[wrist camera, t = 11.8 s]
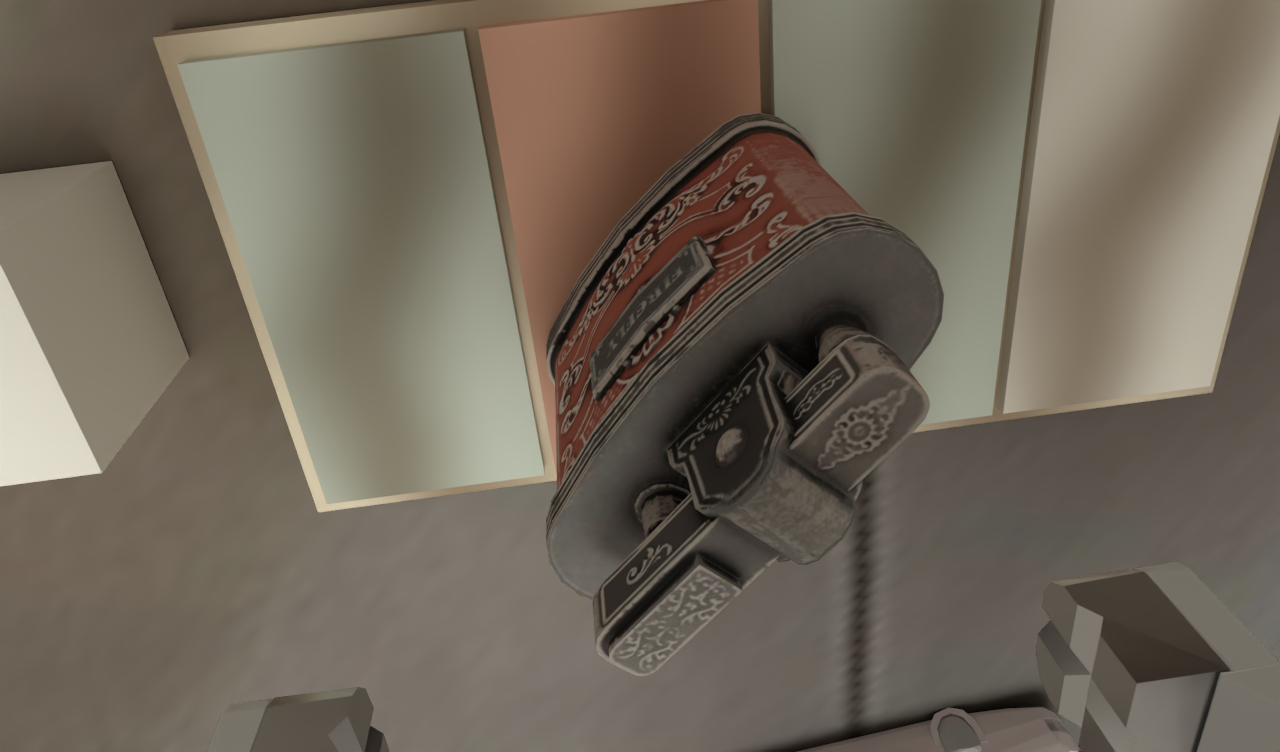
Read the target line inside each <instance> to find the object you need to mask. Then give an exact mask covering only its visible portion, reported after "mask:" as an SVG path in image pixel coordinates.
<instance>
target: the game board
mask: <svg viewBox="0 0 1280 752" xmlns="http://www.w3.org/2000/svg"><path fill="white" fill-rule="evenodd" d="M153 39H154V42H155V45H156V48H157V51H158V54H159V57H160V60H161V62H162V65H163V68H164V71H165V74H166V77H167V80H168V83H169V85H170V88H171V91H172V94H173V97H174V100H175V103H176V106H177V108H178V111H179V114H180V117H181V120H182V123H183V126H184V128H185V131H186V134H187V137H188V140H189V143H190V146H191V149H192V151H193V154H194V157H195V160H196V163H197V166H198V169H199V172H200V174H201V177H202V180H203V183H204V186H205V189H206V192H207V195H208V197H209V200H210V203H211V206H212V209H213V212H214V215H215V217H216V220H217V223H218V226H219V229H220V232H221V235H222V238H223V240H224V243H225V246H226V249H227V252H228V255H229V258H230V261H231V263H232V266H233V269H234V272H235V275H236V278H237V281H238V284H239V286H240V289H241V292H242V295H243V298H244V301H245V304H246V307H247V309H248V312H249V315H250V318H251V321H252V324H253V327H254V329H255V332H256V335H257V338H258V341H259V344H260V347H261V350H262V352H263V355H264V358H265V361H266V364H267V367H268V370H269V373H270V375H271V378H272V381H273V384H274V387H275V390H276V393H277V396H278V398H279V401H280V404H281V407H282V410H283V413H284V416H285V418H286V421H287V424H288V427H289V430H290V433H291V436H292V439H293V441H294V444H295V447H296V450H297V453H298V456H299V459H300V462H301V464H302V467H303V470H304V473H305V476H306V479H307V482H308V485H309V487H310V490H311V493H312V496H313V499H314V502H315V505H316V507H317V510H318V512H325V511H332V510H339V509H347V508H354V507H362V506H369V505H377V504H384V503H392V502H399V501H407V500H414V499H421V498H429V497H436V496H444V495H451V494H459V493H466V492H474V491H481V490H489V489H496V488H504V487H511V486H518V485H526V484H533V483H541V482H548V481H556V480H557V464H556V408H555V386H554V384H553V383H552V381H551V379H550V378H549V375H548V368H547V361H546V343H547V340H548V336H549V333H550V329H551V328H552V326H553V324H554V322H555V320H556V318H557V317H558V315H559V313H560V311H561V309H562V307H563V305H564V304H565V302H566V300H567V298H568V296H569V294H570V293H571V291H572V289H573V287H574V285H575V283H576V282H577V280H578V278H579V276H580V275H581V273H582V272H583V271H584V269H585V268H586V266H587V265H588V264H589V262H590V261H591V259H592V258H593V257H594V255H595V254H596V252H597V251H598V250H599V248H600V247H601V245H602V244H603V243H604V241H605V240H606V238H607V237H608V236H609V234H610V233H611V231H612V230H613V229H614V227H615V226H616V224H617V223H618V222H619V221H620V219H621V218H622V217H623V216H624V215H625V214H626V213H627V212H628V211H629V210H630V209H631V208H632V207H633V206H634V205H635V204H636V203H637V202H638V201H639V200H640V198H641V197H642V196H643V195H644V194H645V193H646V192H647V191H648V190H649V189H650V188H651V187H652V186H653V185H654V184H655V183H656V182H657V181H658V180H659V178H660V177H661V176H662V175H663V174H664V173H665V172H666V171H667V170H668V169H669V168H670V167H672V166H673V165H674V164H675V163H676V162H678V161H679V160H680V159H681V158H682V157H684V156H685V155H686V154H687V153H688V152H690V151H691V150H692V149H693V148H694V147H696V146H697V145H698V144H699V143H700V142H702V141H703V140H704V139H705V138H706V137H708V136H709V135H710V134H711V133H712V132H714V131H715V130H716V129H717V128H718V127H720V126H721V125H722V124H723V123H725V122H727V121H729V120H731V119H732V118H734V117H736V116H738V115H742V114H750V113H757V112H759V113H763V114H768V115H772V116H777V117H779V118H780V119H782V120H784V121H785V122H787V123H788V124H790V125H792V126H793V127H795V128H796V129H797V130H798V131H799V132H800V133H801V134H802V135H803V136H804V137H805V138H806V140H807V141H808V142H809V143H810V145H811V146H812V147H813V148H814V150H815V151H816V152H817V154H818V157H819V160H820V163H821V166H822V168H823V169H824V170H825V171H826V172H827V173H828V174H829V175H830V176H831V177H832V178H833V179H834V180H835V181H836V182H837V183H838V184H839V185H840V186H841V187H842V188H843V189H844V190H845V191H846V192H847V193H848V194H849V195H850V196H851V197H852V198H853V199H854V200H855V201H856V202H857V203H858V204H859V205H860V206H861V207H862V208H863V209H864V210H865V211H866V212H867V213H868V214H869V215H870V216H874V217H879V218H881V219H883V220H884V221H886V222H888V223H889V224H891V225H893V226H894V227H896V228H897V229H899V230H901V231H902V232H904V233H905V234H906V235H907V236H908V237H909V238H910V239H911V240H912V241H913V242H914V243H915V244H916V245H917V246H918V247H919V248H920V249H921V250H922V251H923V253H924V254H925V255H926V257H927V258H928V259H929V260H930V262H931V263H932V264H933V266H934V267H935V268H936V269H937V272H938V275H939V279H940V282H941V285H942V289H943V292H944V303H943V313H942V321H941V323H940V325H939V327H938V329H937V331H936V333H935V335H934V337H933V339H932V341H931V343H930V344H929V345H928V347H927V348H926V349H925V351H924V352H923V353H922V355H921V356H920V357H919V359H918V360H917V361H916V363H915V364H914V365H913V367H912V368H911V369H910V372H911V373H912V374H913V376H914V377H915V378H916V380H917V381H918V382H919V384H920V385H921V386H922V388H923V389H924V390H925V392H926V393H927V394H928V397H929V402H930V408H929V411H928V414H927V416H926V418H925V420H924V421H923V422H922V423H921V424H920V425H919V427H918V428H917V429H916V430H915V431H914V432H921V431H929V430H936V429H944V428H951V427H958V426H966V425H973V424H981V423H988V422H996V421H1003V420H1011V419H1018V418H1026V417H1033V416H1041V415H1048V414H1055V413H1063V412H1070V411H1078V410H1085V409H1093V408H1100V407H1108V406H1115V405H1123V404H1130V403H1137V402H1145V401H1152V400H1160V399H1167V398H1175V397H1182V396H1190V395H1197V394H1205V393H1212V392H1213V388H1214V384H1215V380H1216V377H1217V373H1218V369H1219V365H1220V361H1221V357H1222V353H1223V350H1224V346H1225V342H1226V338H1227V334H1228V330H1229V326H1230V323H1231V319H1232V315H1233V311H1234V307H1235V303H1236V299H1237V296H1238V292H1239V288H1240V284H1241V280H1242V276H1243V272H1244V269H1245V265H1246V261H1247V257H1248V253H1249V249H1250V245H1251V242H1252V238H1253V234H1254V230H1255V226H1256V222H1257V219H1258V215H1259V211H1260V207H1261V203H1262V199H1263V195H1264V192H1265V188H1266V184H1267V180H1268V176H1269V172H1270V168H1271V165H1272V161H1273V157H1274V153H1275V149H1276V145H1277V141H1278V138H1279V134H1280V0H433V1H424V2H415V3H407V4H398V5H389V6H380V7H372V8H363V9H354V10H346V11H337V12H328V13H320V14H311V15H302V16H293V17H285V18H276V19H267V20H259V21H250V22H241V23H233V24H224V25H215V26H206V27H198V28H189V29H180V30H172V31H169V32H166V33H164V34H161V35H158V36H156V37H153ZM914 432H913V433H914Z"/></svg>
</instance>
